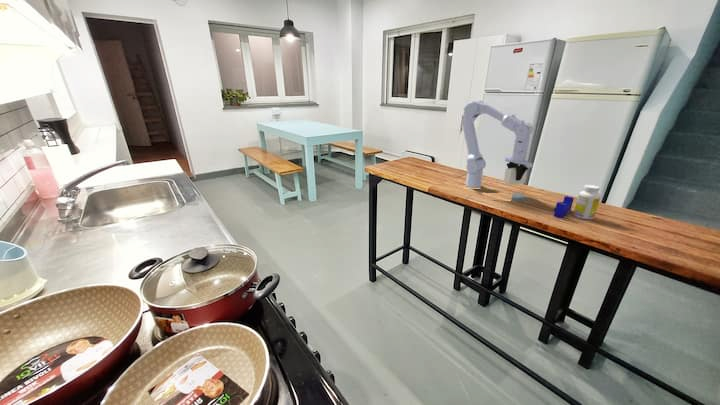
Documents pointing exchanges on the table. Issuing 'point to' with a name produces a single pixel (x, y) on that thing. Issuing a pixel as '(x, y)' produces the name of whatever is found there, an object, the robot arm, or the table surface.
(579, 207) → the supplement bottle
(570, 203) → the blue l-shaped block
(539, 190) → the table surface
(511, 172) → the card box
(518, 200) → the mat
